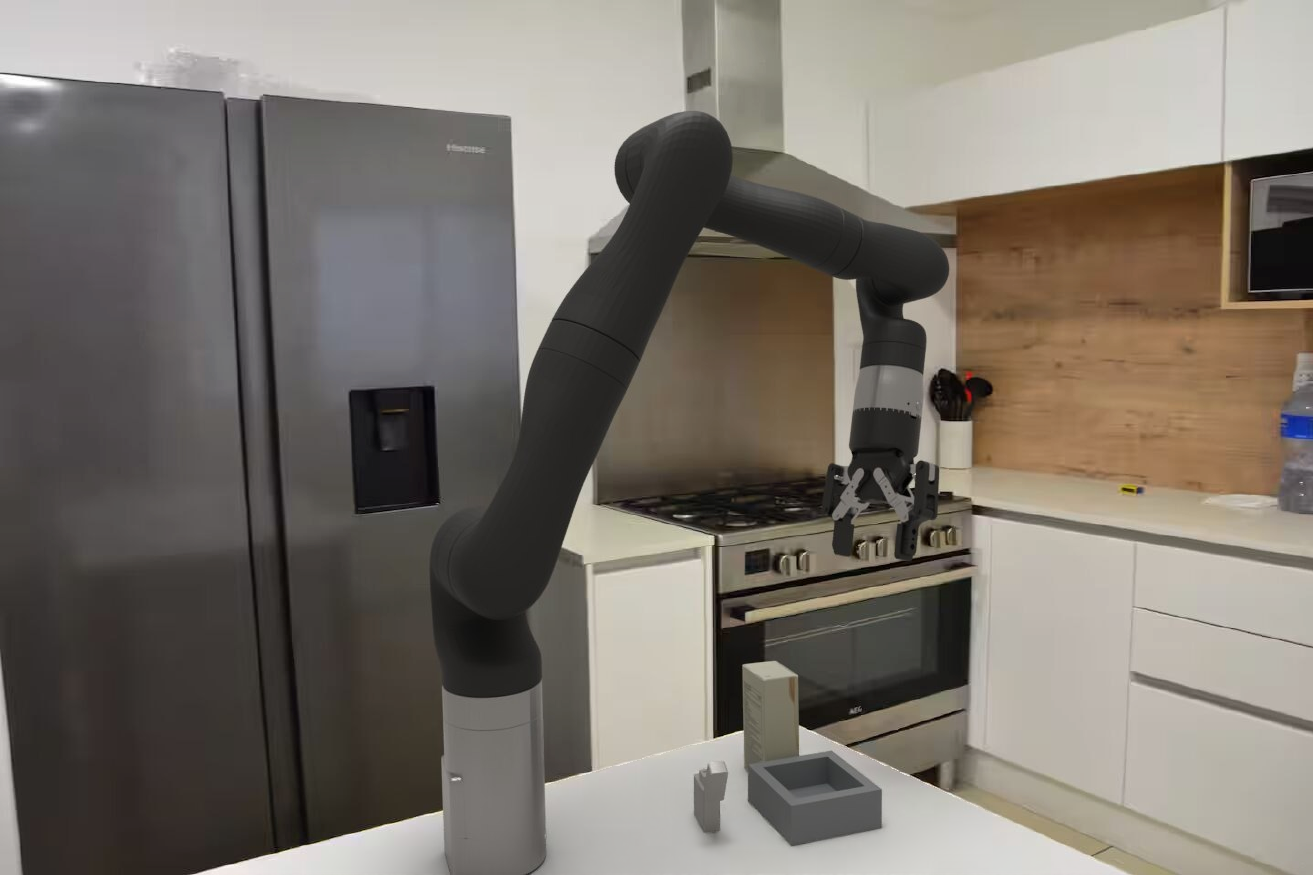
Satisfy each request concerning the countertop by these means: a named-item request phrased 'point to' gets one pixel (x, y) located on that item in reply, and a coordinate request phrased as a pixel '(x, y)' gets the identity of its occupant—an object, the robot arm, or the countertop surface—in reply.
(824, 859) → the countertop surface
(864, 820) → the holder
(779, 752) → the skincare box
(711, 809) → the lighter
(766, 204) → the robot arm
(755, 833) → the countertop surface
